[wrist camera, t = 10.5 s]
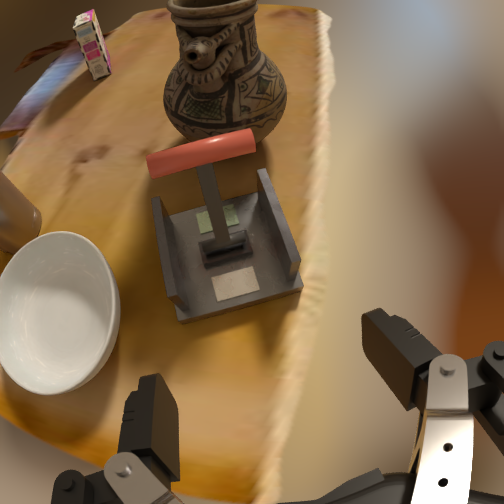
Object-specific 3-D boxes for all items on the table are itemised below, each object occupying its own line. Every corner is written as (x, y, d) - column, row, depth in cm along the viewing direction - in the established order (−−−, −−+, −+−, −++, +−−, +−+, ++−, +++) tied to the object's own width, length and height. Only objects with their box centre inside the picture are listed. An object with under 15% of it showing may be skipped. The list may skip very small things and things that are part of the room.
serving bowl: (120, 417, 32) (93, 421, 26) (8, 368, 34) (-22, 361, 27) (153, 262, 40) (135, 238, 34) (41, 244, 42) (17, 224, 36)
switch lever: (269, 241, 36) (253, 133, 27) (184, 264, 35) (145, 161, 26) (263, 228, 38) (247, 124, 29) (182, 250, 37) (146, 151, 28)
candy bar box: (112, 73, 60) (92, 19, 45) (93, 82, 59) (71, 29, 44) (111, 56, 64) (93, 7, 49) (94, 63, 64) (75, 16, 49)
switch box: (301, 290, 38) (311, 267, 31) (182, 324, 37) (162, 308, 29) (267, 197, 43) (268, 160, 36) (162, 225, 42) (144, 193, 35)
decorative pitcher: (197, 92, 54) (176, -24, 31) (291, 99, 52) (298, -25, 29) (157, 180, 45) (99, 39, 23) (274, 193, 44) (280, 29, 21)
